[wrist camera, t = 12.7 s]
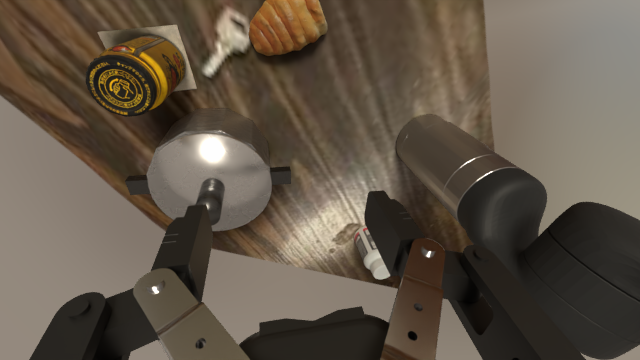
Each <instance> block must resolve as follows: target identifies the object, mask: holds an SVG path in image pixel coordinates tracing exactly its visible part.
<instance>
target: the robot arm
mask: <svg viewBox="0 0 640 360" xmlns="http://www.w3.org/2000/svg"><path fill="white" fill-rule="evenodd" d="M396 150H397V154H398V156H399V157H400V159H401V160H402V161H403V162H404V163H405V164H406V165H407V166H408V167H409V168H410V170H411V171H412V172H413V173H414V174H415V175H416V176H417V177H418V178H419V180H420V181H421V182H422V183H423V184H424V185H425V186H426V187H427V188H428V189H429V191H430V192H431V193H432V194H433V195H434V196H435V197H436V198H437V199H438V200H439V201H440V203H441V204H442V205H443V206H444V207H445V208H446V209H447V210H448V211H449V212H450V213H451V214H452V216H453V217H454V218H455V219H456V220H457V221H458V222H459V223H460V224H461V226H462V227H463V228H464V229H465V230H466V232H467V235H468V237H469V239H470V240H471V241H472V243H473V244H474V245H469V246H467V247H466V248H465V249H464V251H463V253H461V252H454V251H447V250H444V249H443V247H442V246H441V245H440V244H439V243H437V242H436V241H434V240H431V239H428V238H426V237H425V236H424V235H423V233H422V232H421V230H420V229H419V228H418V226H417V225H416V223H415V222H414V221H413V219H411V216H410V215H409V214H408V213H407V211H406V209H405V208H404V207H403V205H402V204H400V203H399V202H397V201H396V200H395V199H390V198H389V197H388V195H387V194H386V192H385V191H371V192H369V193H368V197H367V203H366V209H365V224H366V227H367V229H368V231H369V233H370V235H371V237H372V239H373V241H374V243H375V245H376V247H377V249H378V251H379V253H380V255H381V258H382V260H383V262H384V264H385V266H386V268H387V270H388V272H389V274H390V276H396V275H399V276H400V278H401V281H400V285H399V288H398V292H397V295H396V298H395V302H394V305H393V309H392V312H391V316H390V319H389V322H386V321H384V320H382V319H380V318H378V317H375V316H371V315H366V314H364V312H363V309H362V307H355V308H349V309H342V310H337V311H335V312H333V313H331V314H328V315H326V316H324V317H322V318H319V319H317V320H315V321H306V320H296V319H280V320H274V321H268V322H261V323H260V331H259V332H257V333H255V334H253V335H251V336H250V337H248V338H247V339H245V340H244V341H243V342H241V343H240V344H239V345H238V344H237V343H236V341H235V340H234V339H233V338H232V337H231V335H230V334H229V333H228V332H227V331H226V329H225V328H224V327H223V326H222V324H221V323H220V322H219V321H218V320H217V318H216V317H215V316H214V315H213V313H212V312H211V311H210V310H209V308H208V307H207V306H206V305H205V304H204V303H203V302H201V301H202V295H203V289H204V285H205V279H206V274H207V268H208V263H209V257H210V251H211V246H212V240H213V232H212V226H211V222H210V218H209V213H208V209H207V206H206V204H203V205H190V206H188V207H187V210H186V213H185V216H184V217H178V218H176V219H175V220H174V221H173V222H172V223H171V224H170V225H169V226H168V228H167V231H166V233H165V237H164V239H163V241H162V244H161V246H160V249H159V251H158V254H157V256H156V259H155V262H154V264H153V267H152V269H151V271H150V272H149V273H147V274H145V275H144V276H143V277H141V278H140V279H139V280H138V281H137V283H136V284H135V286H134V288H132V289H130V290H128V291H125V292H123V293H120V294H117V295H114V296H112V297H109V298H106V299H105V297H104V296H103V295H102V294H100V293H97V292H91V293H85V294H83V295H80V296H77V297H75V298H73V299H72V300H70V301H69V302H67V303H66V304H64V305H63V306H62V307H61V308H60V309H59V310H58V312H57V313H56V314H55V316H54V318H53V319H52V321H51V323H50V325H49V326H48V328H47V330H46V332H45V333H44V335H43V337H42V339H41V340H40V342H39V344H38V346H37V347H36V349H35V351H34V353H33V354H32V356H31V358H30V359H29V360H128V359H129V356H130V352H131V351H133V350H136V349H138V348H140V347H142V346H144V345H146V344H149V343H151V342H153V341H155V340H158V341H159V343H160V345H161V346H162V348H163V350H164V351H165V353H166V355H167V356H168V358H169V360H435V357H436V348H437V341H438V333H439V325H440V317H441V309H442V300H443V298H446V299H448V300H449V302H450V303H451V305H452V307H453V308H454V310H455V312H456V314H457V315H458V317H459V319H460V321H461V322H462V324H463V326H464V328H465V329H466V331H467V333H468V335H469V336H470V338H471V340H472V341H473V343H474V345H475V347H476V348H477V350H478V352H479V354H480V355H481V357H482V359H483V360H586V359H585V358H584V357H583V356H582V355H581V353H582V354H584V355H586V356H589V357H592V358H596V359H601V360H607V359H613V358H616V357H618V356H620V355H622V354H624V353H626V352H628V351H630V350H631V349H633V348H635V347H637V346H638V345H640V220H638V219H636V218H634V217H632V216H630V215H628V214H626V213H623V212H621V211H619V210H617V209H614V208H611V207H609V206H606V205H602V204H599V203H594V202H580V203H577V204H574V205H572V206H571V207H570V208H568V209H567V210H566V211H565V212H563V213H562V214H561V215H560V216H559V217H558V218H557V219H556V220H555V221H554V222H553V223H552V224H551V225H550V226H549V227H548V228H547V229H546V230H545V231H544V232H543V233H542V234H541V235H540V236H539V237H538V231H539V226H540V222H541V219H542V216H543V213H544V210H545V207H546V202H547V193H546V190H545V188H544V186H543V185H542V183H541V182H540V181H539V180H537V179H536V178H535V177H533V176H531V175H530V174H529V173H527V172H525V171H524V170H522V169H520V168H519V167H517V166H516V165H514V164H512V163H511V162H509V161H508V160H506V159H504V158H503V157H501V156H500V155H498V154H497V153H495V152H493V151H492V150H490V149H489V147H488V146H487V145H485V144H484V143H482V142H481V141H479V140H477V139H476V138H474V137H473V136H471V135H469V134H468V133H466V132H465V131H463V130H461V129H460V128H458V127H457V126H455V125H453V124H452V123H450V122H447V121H445V120H443V119H442V118H440V117H438V116H436V115H432V114H426V115H422V116H419V117H417V118H415V119H413V120H411V121H410V122H409V123H408V124H407V125H406V126H405V127H404V128H403V129H402V131H401V132H400V134H399V136H398V139H397V143H396ZM483 296H484V297H483ZM485 299H486V300H487V301H486V300H485ZM200 302H201V303H200ZM487 302H488V303H489V304H488V303H487ZM490 306H491V307H490Z"/></svg>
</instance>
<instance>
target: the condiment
mask: <svg viewBox="0 0 640 360" xmlns="http://www.w3.org/2000/svg"><path fill="white" fill-rule="evenodd" d="M98 34H99V36H100V38H101V40H102V42H103V44H104V46H105V48H106V50H105V51H103V52H102V53H101V54H100V55H99V56H98V58H95V59H94V61H93V62H91V63H90V65H89V66H88V70H87V72H86V84H87V87H88V90H89V91H90V93H91V95H92V97H93V98H94V99H95V100H96V102H97V103H98V104H99V105H101V106H102V107H104V108H105V109H107V110H108V111H110V112H112V113H115V114H118V115H122V116H137V115H141V114H144V113H145V112H146V111H149V110H151V109H154V108H155V107H157V106H159V105H160V104H161V103H162V102H163V101H164V100H165V99H166V98H167V97H168V96H169V95H170V94H171V93H172V92H173V91H181V90H189V89H197V87H196V84H195V81H194V77H193V74H192V71H191V68H190V64H189V61H188V58H187V55H186V52H185V49H184V46H183V43H182V40H181V37H180V34H179V30H178V27H177V25H170V26H159V27H147V28H136V29H126V30H114V31H104V32H98Z"/></svg>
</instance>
